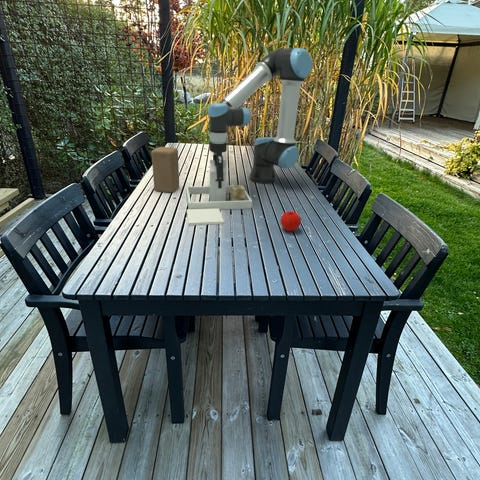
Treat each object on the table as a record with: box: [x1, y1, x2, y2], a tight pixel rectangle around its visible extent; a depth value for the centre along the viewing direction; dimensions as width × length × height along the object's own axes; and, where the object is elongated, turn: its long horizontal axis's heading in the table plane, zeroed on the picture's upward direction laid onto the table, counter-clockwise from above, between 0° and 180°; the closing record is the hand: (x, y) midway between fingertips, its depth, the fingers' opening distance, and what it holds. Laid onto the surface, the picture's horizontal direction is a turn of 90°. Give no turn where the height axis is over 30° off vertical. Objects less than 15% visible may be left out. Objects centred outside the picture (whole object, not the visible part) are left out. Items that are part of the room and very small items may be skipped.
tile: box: [186, 208, 225, 226], centre depth 140 cm, size 14×14×1 cm
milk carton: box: [209, 159, 227, 202], centre depth 154 cm, size 7×7×19 cm
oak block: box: [229, 184, 246, 201], centre depth 153 cm, size 5×5×8 cm
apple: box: [280, 211, 302, 232], centre depth 131 cm, size 8×8×7 cm
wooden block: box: [150, 146, 180, 194], centre depth 164 cm, size 10×10×20 cm
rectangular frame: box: [185, 184, 253, 211], centre depth 157 cm, size 28×22×4 cm
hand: (217, 190), depth 156 cm, fingers open, 11 cm apart
